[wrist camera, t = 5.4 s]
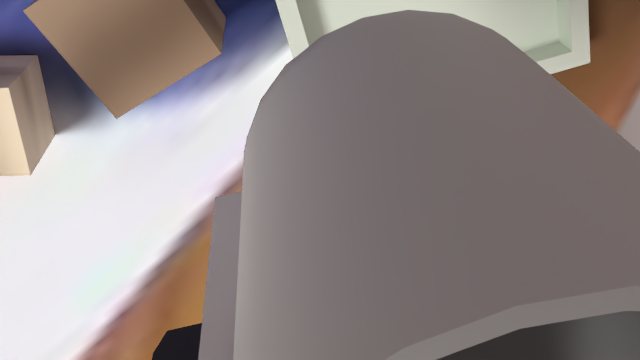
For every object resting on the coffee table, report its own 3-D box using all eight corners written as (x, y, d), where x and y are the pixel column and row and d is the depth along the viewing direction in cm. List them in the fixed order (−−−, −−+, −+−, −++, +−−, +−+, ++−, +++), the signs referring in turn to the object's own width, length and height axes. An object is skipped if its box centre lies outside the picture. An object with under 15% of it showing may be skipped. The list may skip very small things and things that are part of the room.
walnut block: (61, -21, 26) (23, 10, 21) (155, -87, 25) (135, -67, 21) (136, 73, 28) (116, 118, 24) (226, 16, 27) (221, 53, 23)
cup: (601, 42, 13) (1064, 340, 6) (446, 362, 18) (583, 761, 10) (278, -34, 12) (309, 221, 4) (203, 334, 17) (153, 770, 9)
